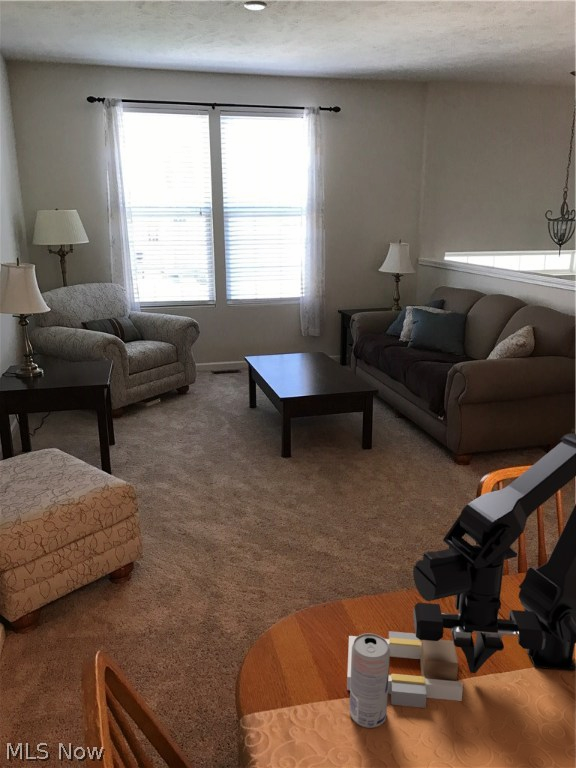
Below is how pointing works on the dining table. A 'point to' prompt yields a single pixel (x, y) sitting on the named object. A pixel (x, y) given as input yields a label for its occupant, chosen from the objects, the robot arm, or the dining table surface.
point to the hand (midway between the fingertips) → (472, 671)
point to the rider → (439, 660)
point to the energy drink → (369, 680)
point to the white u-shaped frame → (408, 686)
